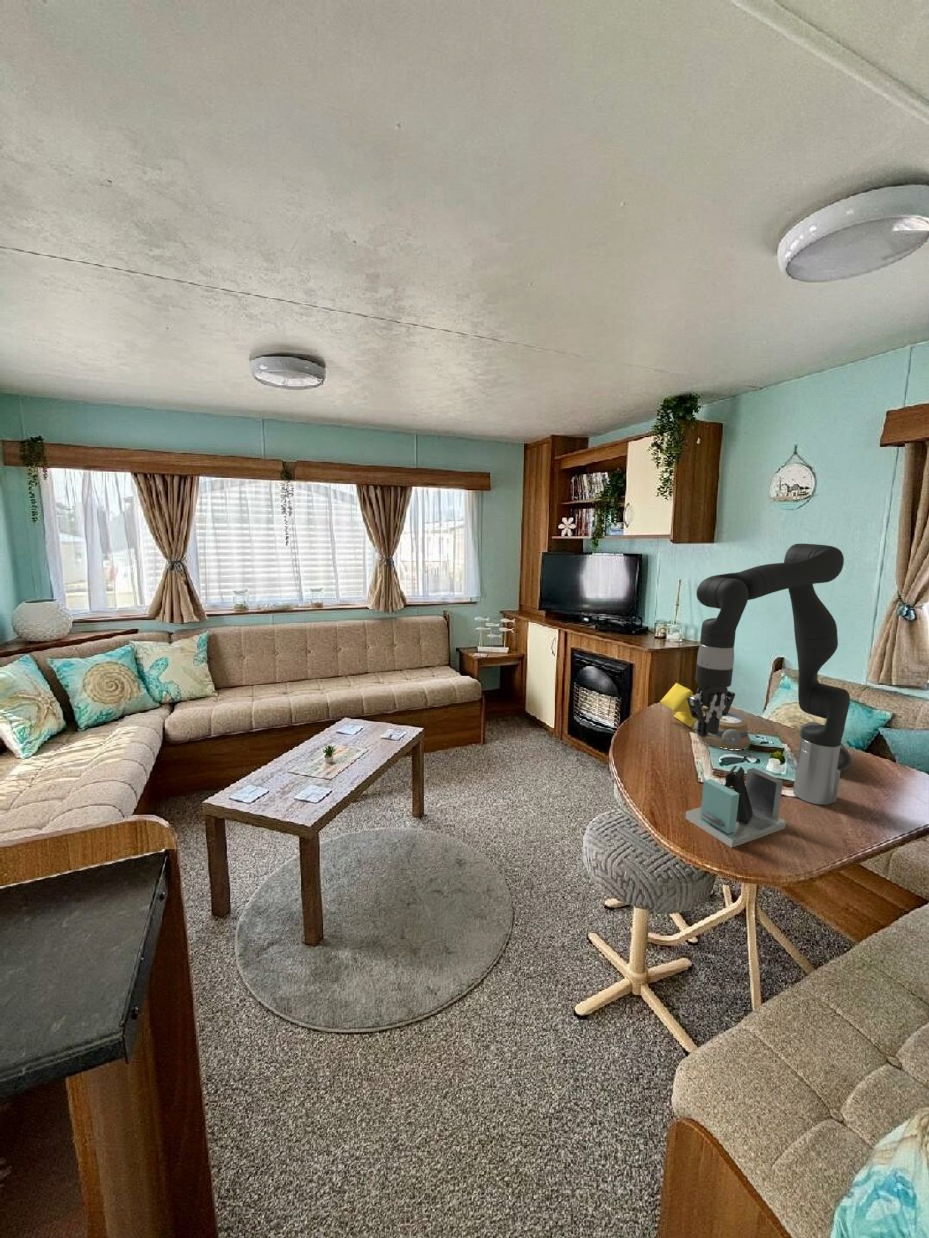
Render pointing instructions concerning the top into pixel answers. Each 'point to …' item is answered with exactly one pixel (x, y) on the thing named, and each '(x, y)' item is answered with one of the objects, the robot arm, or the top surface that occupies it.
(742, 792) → the phone stand
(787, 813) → the top surface
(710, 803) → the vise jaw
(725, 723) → the alarm clock
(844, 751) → the bluetooth speaker
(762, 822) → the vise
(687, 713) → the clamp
